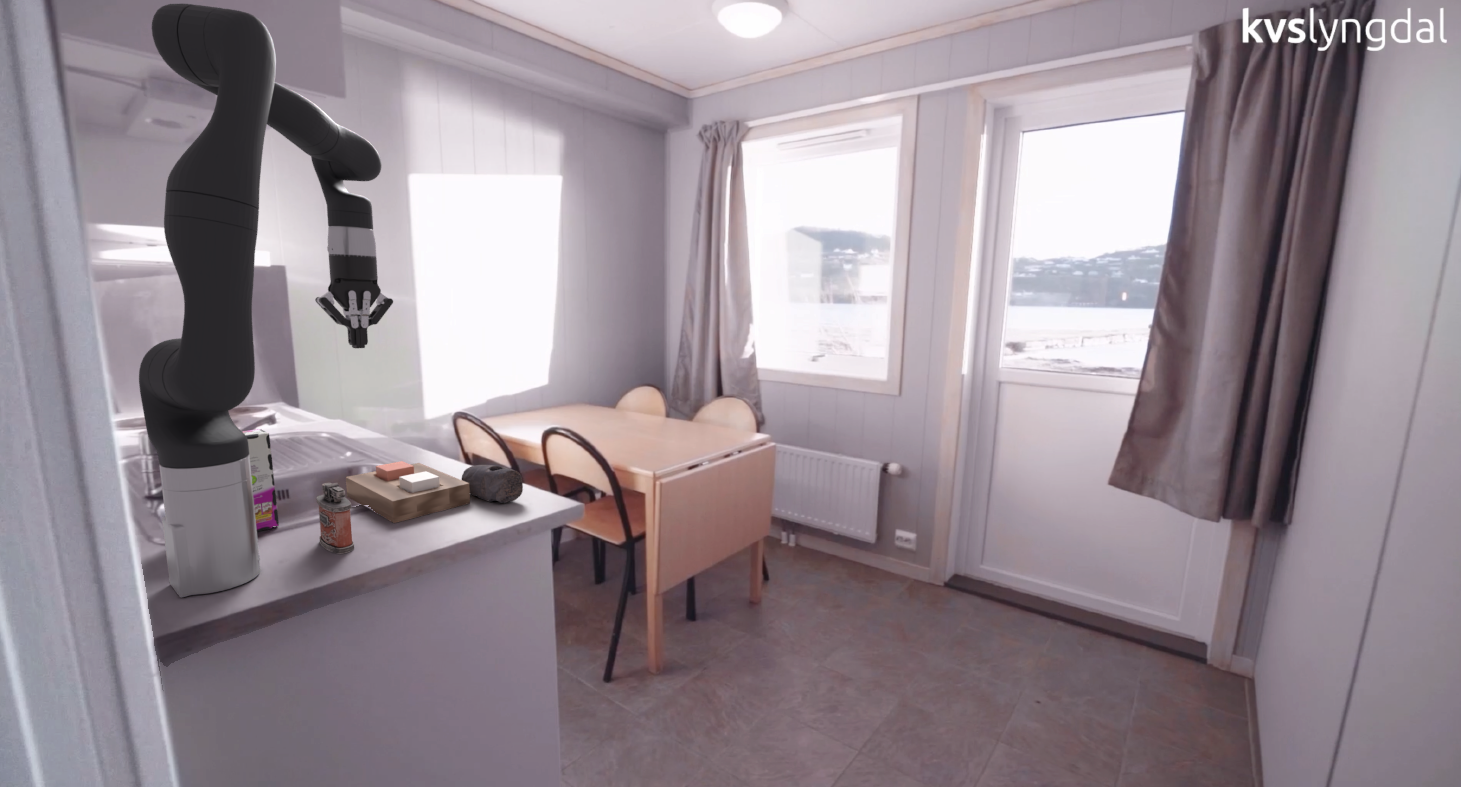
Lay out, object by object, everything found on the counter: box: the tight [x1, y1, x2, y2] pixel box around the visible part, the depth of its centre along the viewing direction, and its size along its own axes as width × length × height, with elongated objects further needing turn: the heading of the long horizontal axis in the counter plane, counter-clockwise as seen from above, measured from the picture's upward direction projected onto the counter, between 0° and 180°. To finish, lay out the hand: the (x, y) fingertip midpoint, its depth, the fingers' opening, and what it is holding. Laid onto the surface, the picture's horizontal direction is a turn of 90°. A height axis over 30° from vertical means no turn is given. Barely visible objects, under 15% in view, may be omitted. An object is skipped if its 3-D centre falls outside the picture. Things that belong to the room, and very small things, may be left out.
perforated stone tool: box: [461, 464, 524, 504], centre depth 120 cm, size 15×5×7 cm, turn 60°
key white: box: [399, 471, 440, 493], centre depth 115 cm, size 5×5×4 cm
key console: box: [345, 462, 471, 524], centre depth 118 cm, size 14×20×4 cm
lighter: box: [315, 482, 355, 555], centre depth 96 cm, size 8×3×10 cm, turn 53°
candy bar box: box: [241, 428, 280, 533], centre depth 99 cm, size 11×5×16 cm, turn 143°
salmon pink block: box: [375, 460, 414, 481], centre depth 121 cm, size 5×5×4 cm
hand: (358, 347), depth 115 cm, fingers closed
